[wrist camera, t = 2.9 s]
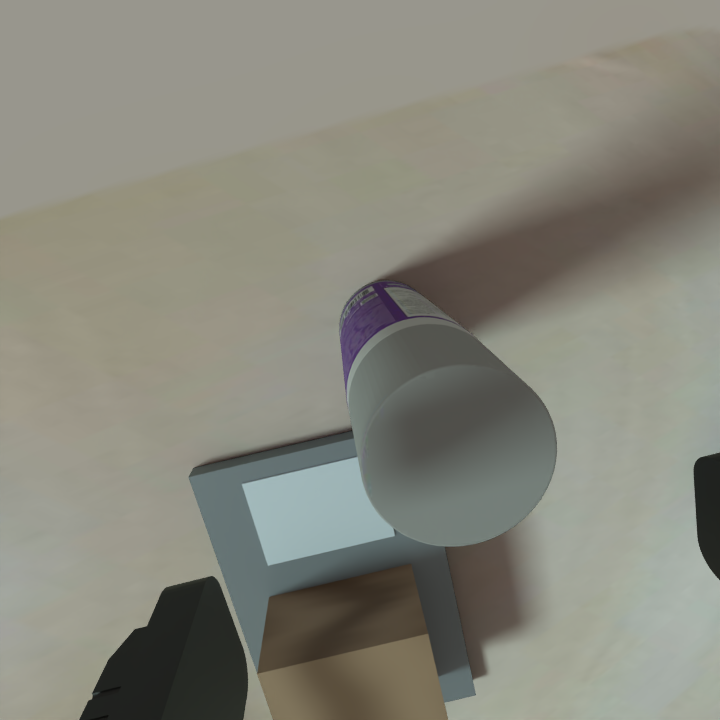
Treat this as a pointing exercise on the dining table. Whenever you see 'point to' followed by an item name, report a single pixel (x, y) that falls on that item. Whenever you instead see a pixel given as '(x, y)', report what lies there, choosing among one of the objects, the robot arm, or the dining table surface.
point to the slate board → (318, 541)
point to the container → (439, 421)
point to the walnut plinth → (350, 652)
